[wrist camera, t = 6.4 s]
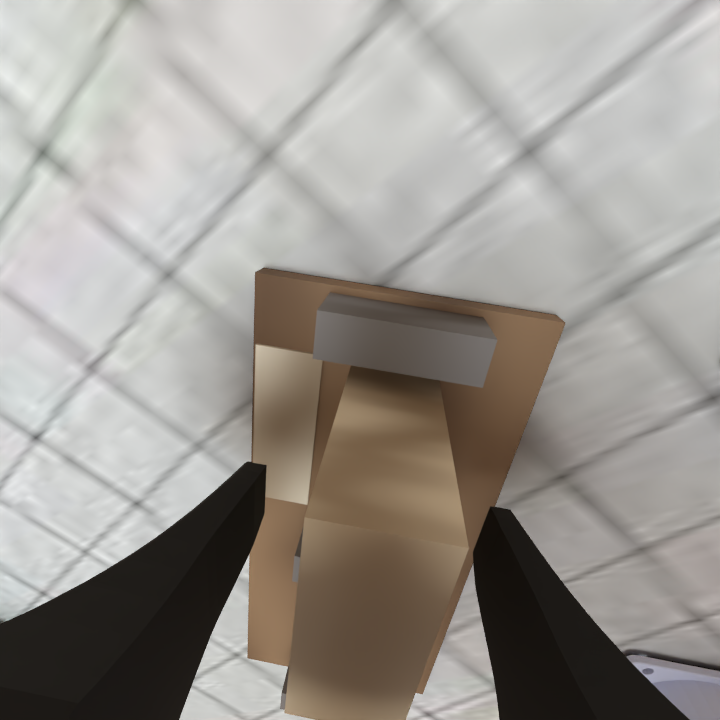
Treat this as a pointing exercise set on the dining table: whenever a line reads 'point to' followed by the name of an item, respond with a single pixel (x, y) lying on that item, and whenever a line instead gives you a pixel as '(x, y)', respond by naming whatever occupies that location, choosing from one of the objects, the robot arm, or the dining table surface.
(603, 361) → the dining table surface
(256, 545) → the brown board with blocks
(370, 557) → the tall tan box
